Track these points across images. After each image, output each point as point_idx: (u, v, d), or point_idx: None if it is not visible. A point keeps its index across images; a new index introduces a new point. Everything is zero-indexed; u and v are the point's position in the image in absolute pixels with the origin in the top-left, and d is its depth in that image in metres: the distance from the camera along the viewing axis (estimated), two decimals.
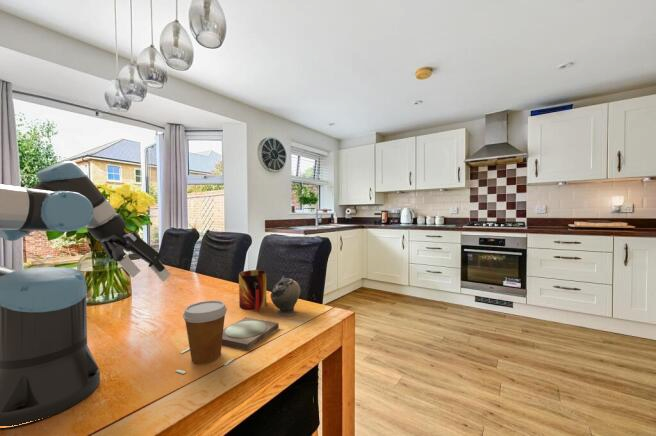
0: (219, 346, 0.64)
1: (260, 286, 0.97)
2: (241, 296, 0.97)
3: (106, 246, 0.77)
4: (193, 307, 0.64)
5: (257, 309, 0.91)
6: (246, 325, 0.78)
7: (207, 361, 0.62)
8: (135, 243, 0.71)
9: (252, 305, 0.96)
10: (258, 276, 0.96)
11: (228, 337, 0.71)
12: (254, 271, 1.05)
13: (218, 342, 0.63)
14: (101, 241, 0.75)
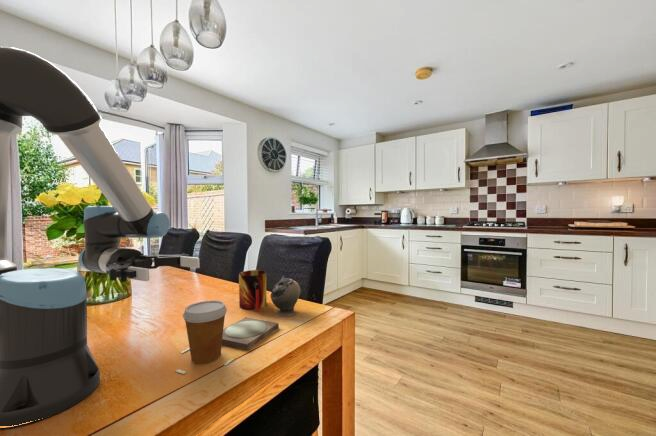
0: (219, 346, 0.64)
1: (260, 286, 0.97)
2: (241, 296, 0.96)
3: None
4: (193, 307, 0.64)
5: (257, 309, 0.91)
6: (246, 325, 0.78)
7: (207, 361, 0.62)
8: None
9: (252, 305, 0.96)
10: (258, 276, 0.96)
11: (228, 337, 0.71)
12: (254, 271, 1.04)
13: (218, 342, 0.63)
14: (112, 263, 0.68)
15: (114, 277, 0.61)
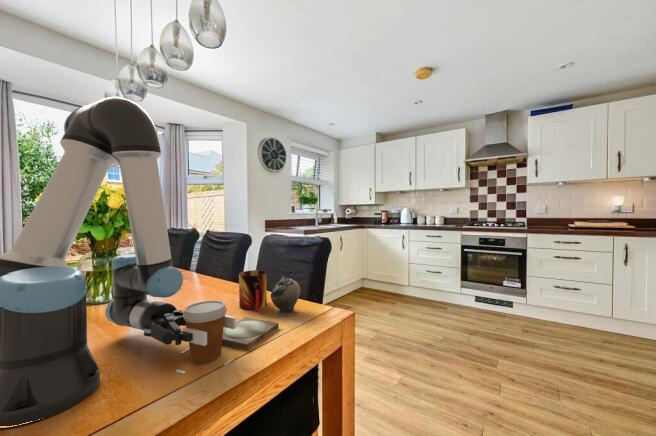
0: (219, 346, 0.64)
1: (260, 286, 0.97)
2: (241, 296, 0.96)
3: None
4: (193, 307, 0.64)
5: (257, 309, 0.91)
6: (246, 325, 0.78)
7: (207, 361, 0.62)
8: None
9: (252, 305, 0.95)
10: (258, 276, 0.96)
11: (228, 337, 0.71)
12: (254, 271, 1.04)
13: (218, 342, 0.63)
14: (152, 324, 0.63)
15: (171, 341, 0.59)
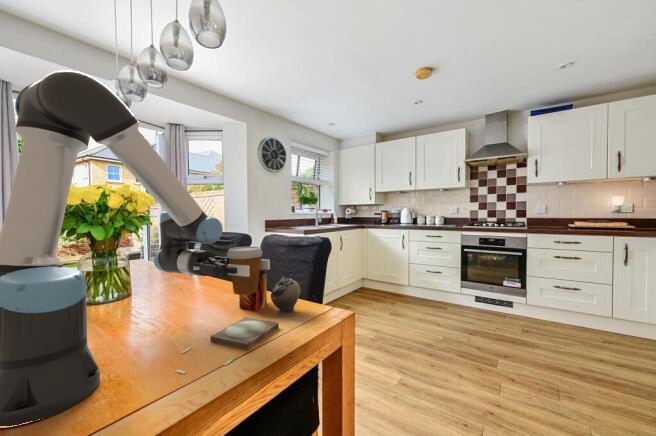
0: (257, 282, 0.75)
1: (260, 286, 0.96)
2: (241, 296, 0.96)
3: None
4: (234, 249, 0.75)
5: (257, 310, 0.91)
6: (246, 325, 0.78)
7: (248, 293, 0.73)
8: None
9: (252, 306, 0.95)
10: None
11: (228, 337, 0.71)
12: None
13: (256, 278, 0.74)
14: (200, 263, 0.74)
15: (219, 273, 0.70)
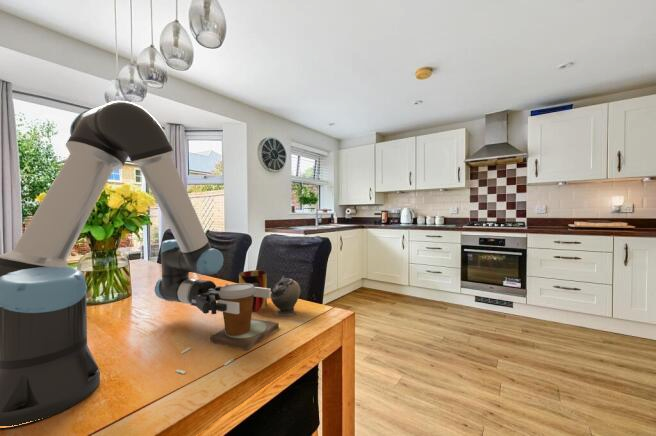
0: (249, 321, 0.73)
1: None
2: None
3: None
4: (227, 288, 0.74)
5: (257, 310, 0.91)
6: None
7: (239, 333, 0.71)
8: None
9: (252, 306, 0.95)
10: (258, 276, 0.96)
11: (228, 337, 0.71)
12: (254, 271, 1.04)
13: (248, 317, 0.73)
14: (198, 296, 0.75)
15: (207, 310, 0.68)
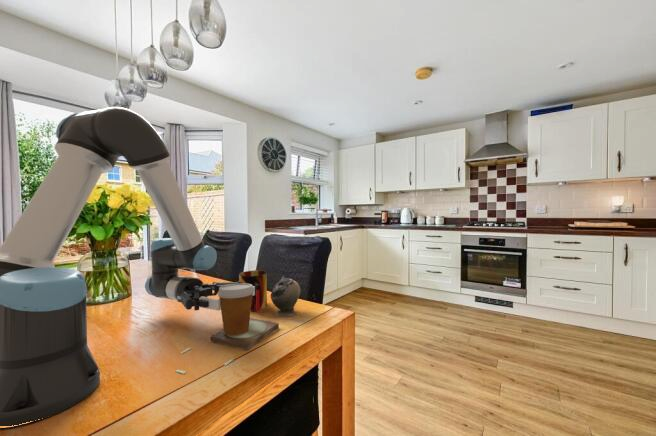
0: (247, 321, 0.73)
1: (260, 287, 0.96)
2: None
3: (186, 295, 0.76)
4: (226, 287, 0.75)
5: (257, 310, 0.90)
6: None
7: (237, 333, 0.71)
8: None
9: (252, 306, 0.95)
10: (258, 277, 0.96)
11: (228, 337, 0.71)
12: (254, 271, 1.04)
13: (246, 317, 0.72)
14: (183, 292, 0.77)
15: (190, 306, 0.71)
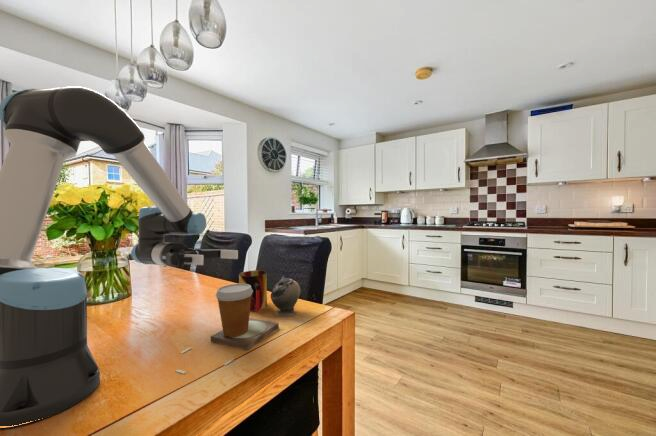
0: (246, 323, 0.73)
1: (260, 287, 0.96)
2: None
3: (171, 254, 0.80)
4: (224, 288, 0.74)
5: (257, 310, 0.90)
6: None
7: (236, 335, 0.71)
8: None
9: (252, 306, 0.95)
10: (258, 277, 0.96)
11: (228, 337, 0.71)
12: (254, 272, 1.04)
13: (245, 319, 0.72)
14: (168, 253, 0.81)
15: (174, 262, 0.75)
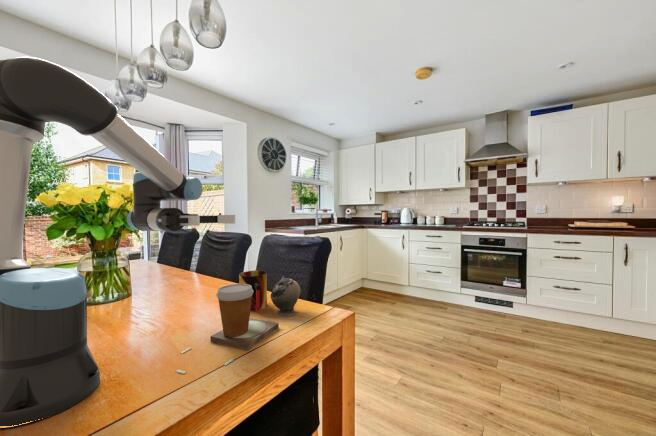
0: (246, 323, 0.73)
1: (260, 287, 0.96)
2: None
3: None
4: (225, 288, 0.74)
5: (258, 310, 0.90)
6: None
7: (236, 335, 0.71)
8: None
9: (252, 306, 0.95)
10: (258, 277, 0.95)
11: (228, 337, 0.71)
12: (254, 272, 1.04)
13: (245, 319, 0.72)
14: None
15: (170, 222, 0.73)
